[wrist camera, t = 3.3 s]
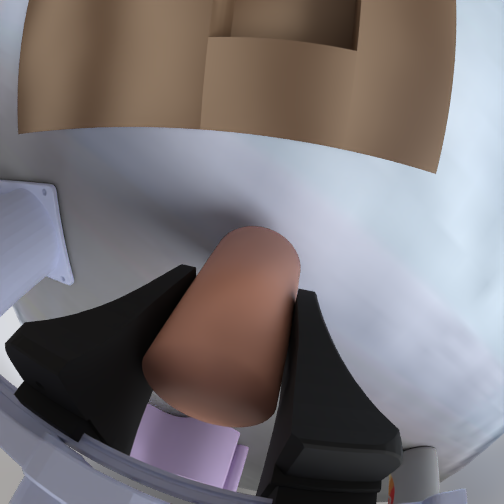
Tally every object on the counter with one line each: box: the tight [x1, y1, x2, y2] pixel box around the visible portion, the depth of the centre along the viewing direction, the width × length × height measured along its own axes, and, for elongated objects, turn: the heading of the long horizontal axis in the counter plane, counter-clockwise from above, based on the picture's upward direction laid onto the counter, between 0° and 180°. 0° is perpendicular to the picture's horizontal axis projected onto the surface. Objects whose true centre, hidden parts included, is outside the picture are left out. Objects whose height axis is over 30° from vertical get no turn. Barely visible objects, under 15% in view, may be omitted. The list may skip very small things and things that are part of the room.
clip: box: [130, 404, 249, 492], centre depth 26 cm, size 20×12×7 cm, turn 104°
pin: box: [142, 226, 300, 427], centre depth 11 cm, size 4×4×7 cm
